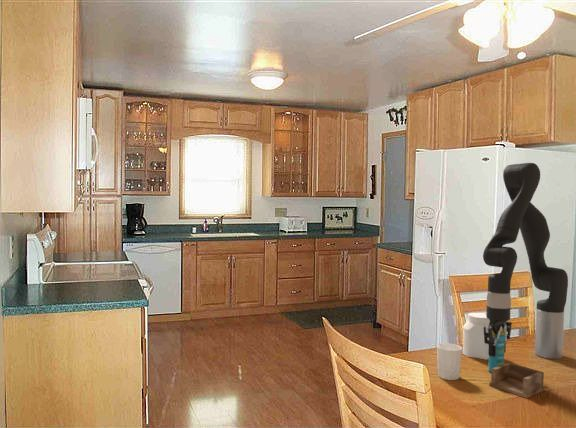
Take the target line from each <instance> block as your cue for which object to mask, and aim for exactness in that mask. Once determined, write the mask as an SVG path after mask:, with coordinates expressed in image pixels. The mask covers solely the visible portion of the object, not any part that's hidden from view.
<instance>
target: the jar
mask: <svg viewBox="0 0 576 428" xmlns="http://www.w3.org/2000/svg"><path fill="white" fill-rule="evenodd" d="M489 323H490V320H489V319H488V318H487V317H486V313H483V312H469V313H468V315H467V320H466V322H465V324H464V325H463V327H462V330H463V334H462V335H463V336H462V339H463V340H462V355H464V356H465V357H467V358H474V359H475V358H476V359H481V360H488V361H489V345H488V344H486V343H485V342H484V326H485V327H488V326H489ZM487 339H488V338H487Z"/></svg>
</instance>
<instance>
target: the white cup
mask: <svg viewBox="0 0 576 428" xmlns="http://www.w3.org/2000/svg"><path fill="white" fill-rule="evenodd" d="M436 351H437V352H436V356H437V358H436V359H437V360H436V363H437V374H438V377H439V378H441V379H443V380H447V381H457V380H460V378H461V377H460V376H461V375H460V374H461V367H462V356H463V346H461V345H458V344H454V343H447V342H446V343H445V342H444V343H443V342H442V343H438V344H437V345H436Z"/></svg>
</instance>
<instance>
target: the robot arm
mask: <svg viewBox="0 0 576 428" xmlns="http://www.w3.org/2000/svg"><path fill="white" fill-rule="evenodd" d="M502 172H503V173H502V178H503V183H504V186H505V189H506V192H507V194H508V196H509V199H510V201H511V202H510V204H509V205H508V206H506V208H505V209H504V211H502V213H501V215H500V217H499V219H498V223H497V225H496V226H497V227H496V229H495V233H494V234H493V235H492V237H491V239H489V242H488V243H487V245H486V247H485V248H484V250H483V253H482V258H483V262H484V263H485V265H487V266H488V267H497V268H501V271H500V272H498V273H497V272H496V273H491V274H489V275H488V279H487V294H486V311H485V312H486V313H485V314H486V317H487V318H488V319H489V320H490V323H489V326H488V327H485V326H484V342H485V343H486V344H488V345H489V356H492V357H495V356H496V342H497V340H498V339H499V336H500V332H501V331H502V329H503V331H504V333H505V351H504V354H505V353H506V351H507V345H506V344H507V342H508V340H510V339H511V333H512V324H513V322H512V321H510V320H511V305H512V304H511V303H512V301H511V300H512V299H511V298H512V297H511V281H512V278H513V277H512V276H513V273H514V270H515V267H516V264H517V261H518V254H517V251H516V250H515V249H514V248H513V247H510V246H505V245H507V244H509V245H510V244H514V243H515V242H516V241H517V239H518V235H519V232H520V234H521V237H522V240H523V242H524V247H525V250H526V251H525V252H526V254H527V258H528V263H529V271H530V275H531V279H532V280H531V281H532V283H533V286H534V287H535V289H537V290H540V291H543V292H548V293H549V295H548V297H547V298H546V299H545V298H544V299H540V300H538V301H537V302H536V310H535V311H536V313H535V317H536V318H535V341H534V345H535V346H534V353H535V355H536V356H538V357H542V358H546V359H552V360H557V359H558V360H560V359H562V358H563V351H564V350H563V347H564V327H565V326H564V325H565V324H564V323H565V307H566V303H567V299H568V298H567V296H568V288H569V277H568V273H567V271H565V269H563V268H557V267H552V266H548V265H547V263H546V260H545V251H546V248H547V246H548V244H549V242H550V239H551V233H550V229H549V225H548V222H547V221H548V220H547V218H546V217H545V215H544V214H543V213H542V212H541V211H540V210H539V209H538V208H537V207H536V206H535V205H534V204H533V203H532V202H531V201H532V199H533V197H534V195H535V193H536V190H537V188H538V186H539V184H540V181H541V170H540V168H539V166H538V165H537V164H536V163H534V162H524V163H514V164H508V165H507V166H505V167H504V169H503V171H502ZM505 323H506V325H504V324H505ZM492 328H493V331H492ZM492 332H494V333H495V334H496V336H493V334H492ZM487 338H488V339H487ZM493 338H494V341H493Z"/></svg>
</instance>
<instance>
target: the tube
mask: <svg viewBox="0 0 576 428" xmlns="http://www.w3.org/2000/svg"><path fill="white" fill-rule="evenodd" d="M504 325H506V323H505V324H504ZM492 331H493V328H492ZM492 334H493V336H496V334H495V333H494V332H492ZM493 341H494V338H493ZM504 351H505V333H504V331H503V329H502V331H501V332H500V336H499V339H498V340H497V342H496V356H495V357H492V356H489V359H488V368H487V370H488V371H489V372H490V373H492V368H495V367H497V366H500V365H503V364H505V353H504Z"/></svg>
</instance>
